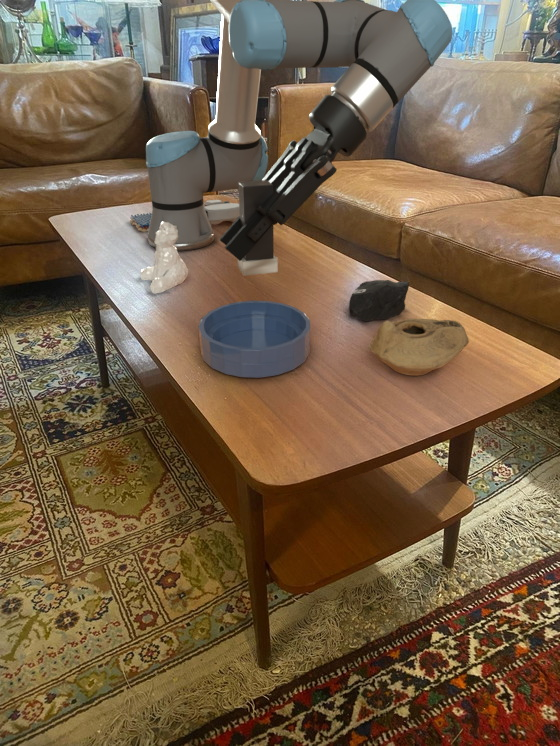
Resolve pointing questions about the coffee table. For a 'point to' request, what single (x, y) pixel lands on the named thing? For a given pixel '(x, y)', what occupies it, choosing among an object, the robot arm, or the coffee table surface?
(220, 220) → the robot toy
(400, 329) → the oil lamp
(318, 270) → the coffee table surface
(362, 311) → the mineral
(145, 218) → the woven mat
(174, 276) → the white creature statuette
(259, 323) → the bowl
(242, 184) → the eraser
